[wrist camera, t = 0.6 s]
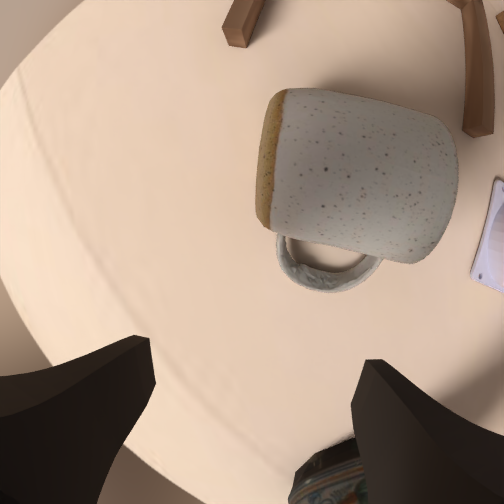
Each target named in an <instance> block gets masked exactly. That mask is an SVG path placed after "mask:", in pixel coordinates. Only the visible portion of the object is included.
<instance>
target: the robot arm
mask: <svg viewBox="0 0 504 504" xmlns="http://www.w3.org/2000/svg"><path fill="white" fill-rule="evenodd" d="M502 188H503V190H502ZM479 274H480V276H479ZM478 276H479V277H478ZM470 277H471V279H473V280H475V281H477V282H479V283H482V284H484V285H486V286H489V287H491V288H493V289H496V290H498V291H500V292H502V293H504V182H502V181H501V180H495V182H494V186H493V192H492V197H491V202H490V207H489V211H488V215H487V219H486V223H485V227H484V231H483V235H482V238H481V242H480V245H479V248H478V251H477V255H476V258H475V261H474V264H473V266H472V269H471V272H470ZM155 385H156V381H155V375H154V369H153V362H152V355H151V348H150V340H149V338H146V337H141V336H137V335H132V336H129V337H127V338H124V339H122V340H119V341H117V342H115V343H112V344H110V345H108V346H105V347H103V348H101V349H98V350H96V351H94V352H91V353H89V354H87V355H84V356H82V357H79V358H76V359H74V360H71V361H68V362H66V363H63V364H60V365H57V366H54V367H50V368H47V369H43V370H39V371H35V372H30V373H24V374H17V375H10V376H0V504H97V501H98V498H99V495H100V492H101V490H102V487H103V484H104V482H105V479H106V477H107V474H108V472H109V470H110V467H111V465H112V463H113V461H114V458H115V456H116V455H117V453H118V451H119V449H120V447H121V446H122V444H123V443H124V441H125V440H126V438H127V436H128V435H129V433H130V432H131V430H132V428H133V427H134V425H135V424H136V422H137V420H138V419H139V417H140V416H141V414H142V412H143V411H144V409H145V407H146V406H147V403H148V401H149V399H150V397H151V394H152V392H153V390H154V387H155ZM351 412H352V421H353V429H354V433H355V437H356V441H357V445H358V449H359V453H360V457H361V461H362V465H363V470H364V474H365V478H366V484H367V491H368V504H504V436H503V435H500V434H497V433H494V432H492V431H489V430H487V429H484V428H482V427H480V426H478V425H475V424H473V423H471V422H469V421H468V420H466V419H464V418H462V417H460V416H459V415H457V414H455V413H453V412H452V411H450V410H449V409H447V408H446V407H444V406H443V405H441V404H440V403H438V402H437V401H435V400H434V399H433V398H431V397H430V396H429V395H427V394H426V393H425V392H423V391H422V390H421V389H419V388H418V387H417V386H416V385H414V384H413V383H412V382H411V381H409V380H408V379H407V378H406V377H405V376H403V375H402V374H401V373H400V372H398V371H397V370H396V369H395V368H393V367H392V366H391V365H390V364H388V363H387V362H385V361H384V360H382V359H373V360H365V363H364V367H363V370H362V373H361V376H360V379H359V382H358V385H357V388H356V391H355V394H354V397H353V399H352V402H351Z"/></svg>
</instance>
